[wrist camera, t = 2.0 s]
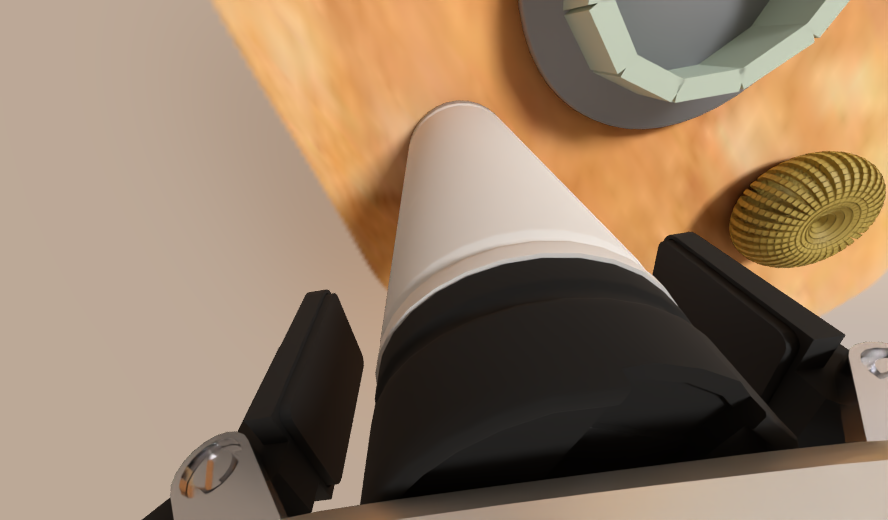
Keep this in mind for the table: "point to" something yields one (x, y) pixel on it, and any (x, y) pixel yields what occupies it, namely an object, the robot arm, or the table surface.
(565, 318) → the travel mug
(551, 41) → the mug dock
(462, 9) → the table surface
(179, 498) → the robot arm
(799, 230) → the sculpture
